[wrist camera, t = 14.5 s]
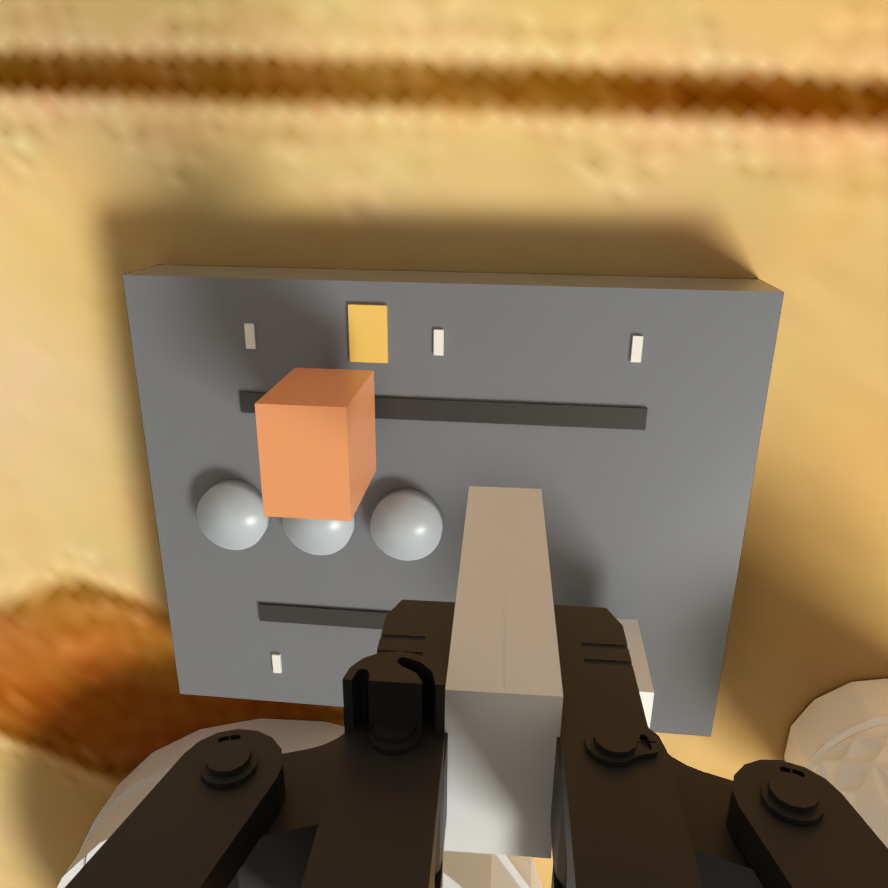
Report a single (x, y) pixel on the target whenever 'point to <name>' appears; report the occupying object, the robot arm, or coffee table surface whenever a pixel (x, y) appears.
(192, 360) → the console
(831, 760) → the white cup
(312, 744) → the dish
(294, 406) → the fader
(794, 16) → the coffee table surface
